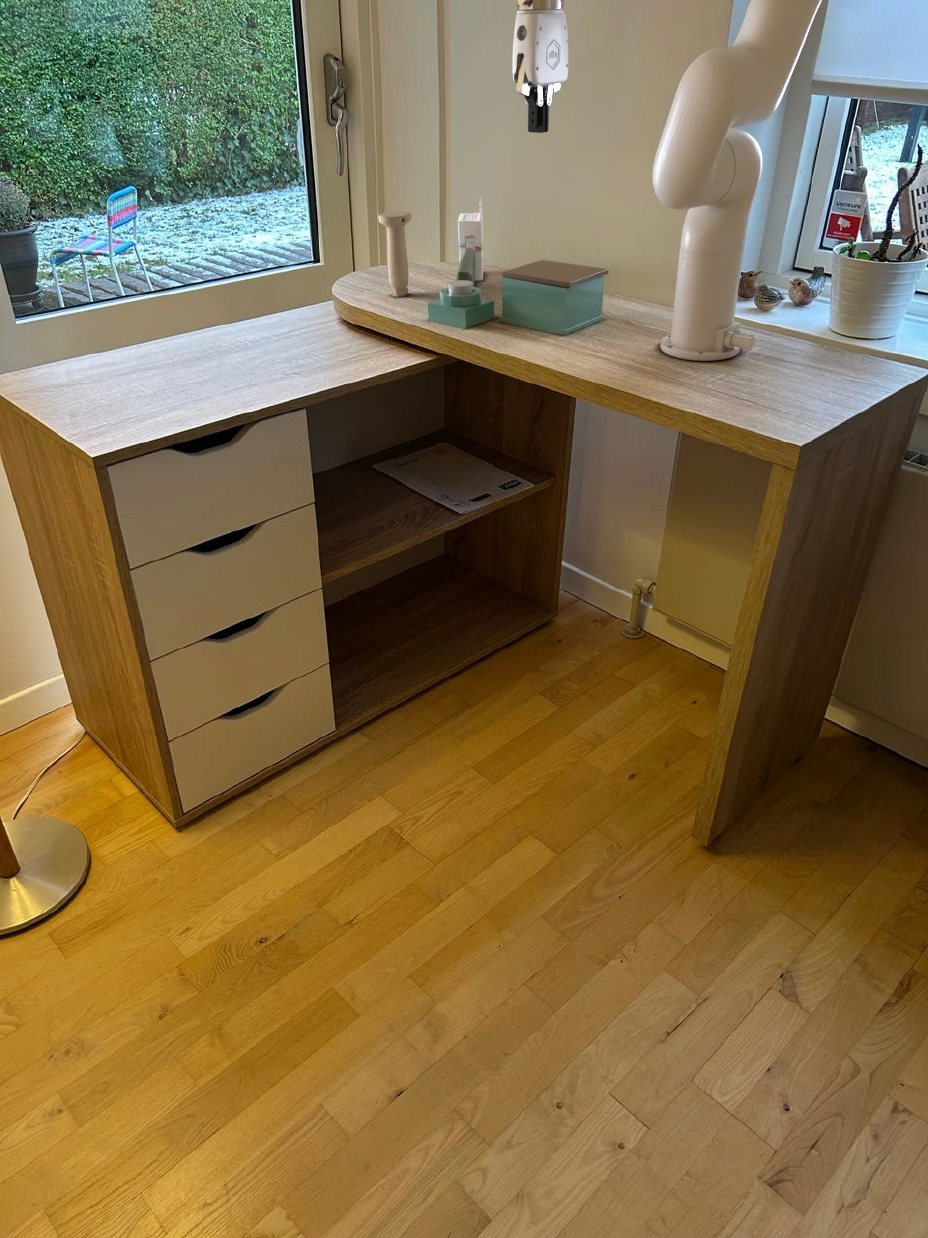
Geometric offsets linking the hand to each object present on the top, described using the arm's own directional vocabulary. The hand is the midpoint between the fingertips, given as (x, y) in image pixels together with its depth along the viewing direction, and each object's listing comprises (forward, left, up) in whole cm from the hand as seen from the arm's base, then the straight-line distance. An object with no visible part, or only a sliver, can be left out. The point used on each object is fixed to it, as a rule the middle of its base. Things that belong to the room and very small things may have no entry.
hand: (538, 131), depth 156 cm
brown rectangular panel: (-9, +7, -21) cm, 24 cm away
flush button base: (+5, +16, -29) cm, 33 cm away
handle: (+26, +10, -29) cm, 40 cm away
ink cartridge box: (+24, -10, -29) cm, 39 cm away
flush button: (+5, +16, -24) cm, 29 cm away
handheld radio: (+17, 0, -29) cm, 34 cm away
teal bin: (-9, +7, -29) cm, 31 cm away
